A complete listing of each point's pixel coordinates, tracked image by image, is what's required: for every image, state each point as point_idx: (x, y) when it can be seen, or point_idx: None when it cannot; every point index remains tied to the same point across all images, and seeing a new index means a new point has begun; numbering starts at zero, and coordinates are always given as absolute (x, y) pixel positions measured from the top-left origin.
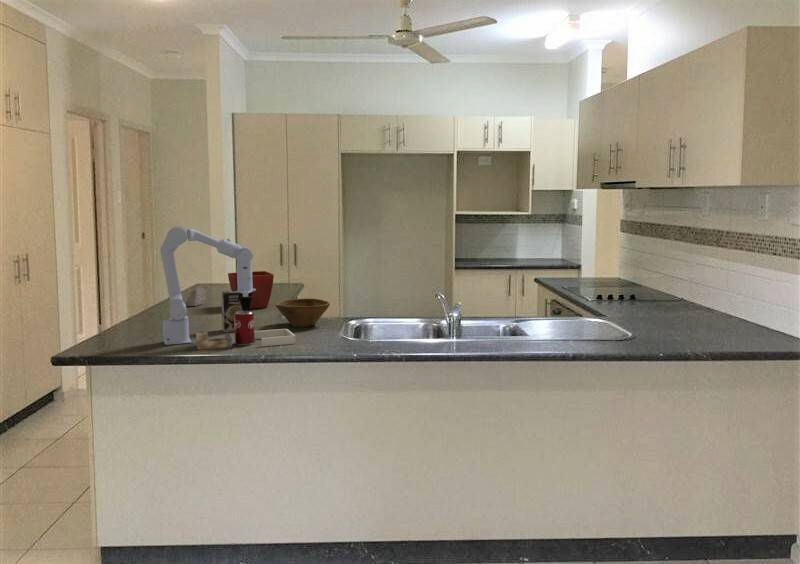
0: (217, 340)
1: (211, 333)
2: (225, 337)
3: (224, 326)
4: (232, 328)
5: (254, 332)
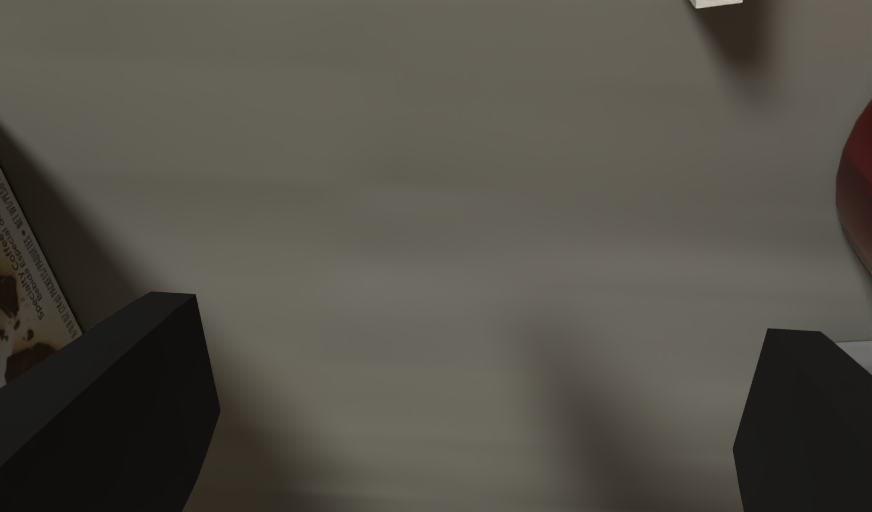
0: None
1: None
2: None
3: None
4: (26, 286)
5: (692, 1)
